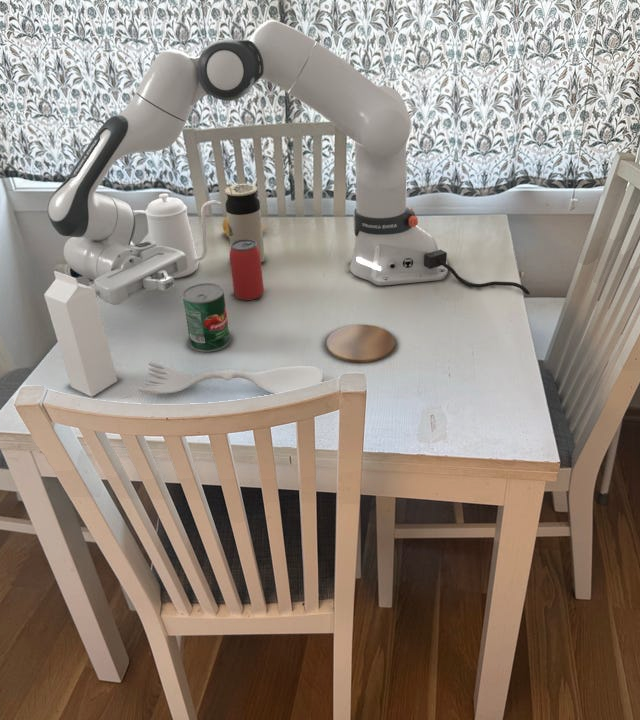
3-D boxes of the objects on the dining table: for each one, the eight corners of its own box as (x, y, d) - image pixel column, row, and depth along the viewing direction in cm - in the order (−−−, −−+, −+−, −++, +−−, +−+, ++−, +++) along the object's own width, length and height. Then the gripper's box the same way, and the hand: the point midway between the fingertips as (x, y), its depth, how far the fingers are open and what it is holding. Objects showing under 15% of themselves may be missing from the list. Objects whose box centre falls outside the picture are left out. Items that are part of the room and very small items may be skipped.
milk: (96, 371, 127) (68, 263, 115) (118, 381, 124) (91, 271, 112) (70, 387, 123) (38, 276, 111) (91, 398, 120) (61, 285, 108)
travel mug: (265, 253, 169) (258, 182, 159) (264, 266, 162) (257, 193, 152) (233, 255, 169) (224, 184, 159) (231, 268, 162) (222, 195, 152)
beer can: (270, 293, 150) (265, 242, 144) (248, 304, 146) (242, 253, 140) (249, 285, 154) (244, 235, 147) (228, 295, 150) (221, 245, 144)
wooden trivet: (393, 327, 135) (393, 324, 134) (395, 362, 124) (395, 360, 124) (328, 327, 136) (328, 324, 136) (324, 362, 125) (324, 359, 125)
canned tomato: (195, 331, 137) (187, 282, 131) (233, 331, 137) (227, 282, 131) (185, 352, 131) (177, 301, 125) (225, 352, 130) (219, 301, 124)
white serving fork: (152, 374, 125) (148, 359, 123) (325, 373, 122) (324, 357, 120) (138, 404, 117) (135, 387, 115) (323, 402, 115) (322, 386, 113)
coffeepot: (224, 279, 157) (214, 201, 147) (121, 280, 160) (104, 203, 150) (233, 260, 166) (224, 185, 156) (135, 260, 169) (120, 187, 159)
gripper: (78, 273, 132) (125, 290, 124) (156, 238, 145) (203, 251, 138) (85, 302, 135) (131, 320, 128) (161, 264, 149) (206, 279, 141)
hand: (169, 284), depth 133 cm, fingers closed
